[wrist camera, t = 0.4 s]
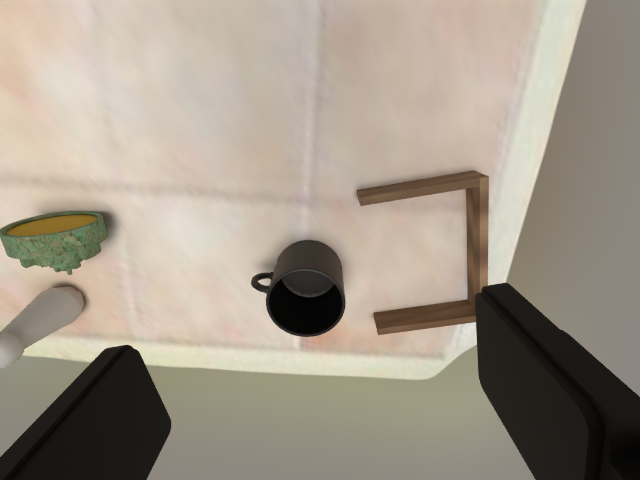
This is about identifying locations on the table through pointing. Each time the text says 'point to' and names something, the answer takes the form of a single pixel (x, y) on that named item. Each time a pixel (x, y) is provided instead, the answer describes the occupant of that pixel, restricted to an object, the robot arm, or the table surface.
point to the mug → (305, 289)
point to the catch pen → (476, 250)
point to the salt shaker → (39, 321)
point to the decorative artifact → (55, 239)
